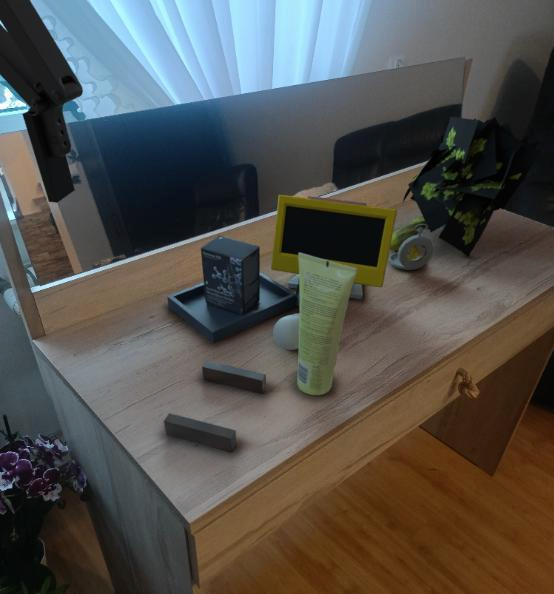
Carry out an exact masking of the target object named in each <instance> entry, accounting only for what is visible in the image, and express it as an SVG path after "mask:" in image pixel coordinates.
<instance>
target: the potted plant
mask: <svg viewBox="0 0 554 594" xmlns="http://www.w3.org/2000/svg"><path fill="white" fill-rule="evenodd" d="M538 144H539V140H537V141H534V142H530V143H529V141H528V136H526V137H524V138H523V139H521V140H520V139H518V138H517V137H515V135H514V133H513V131H512V128H511V125H510V122H506V123H503V124H502V125H500V123H499V121H498V120H497V118H496V116H494V117H492V118H490V119H486V120H485V121H484V122H483V121H482V120H480V119H476V118H474V119H472V118H465V117H456V116H450V117H449V121H448V123H447V127H446V130H445V133H444V134H442V135H440V145H439V147H438V148H437V149H434V150H432V151H429V150H427V153H429V154H430V155H429V159H428V161H427V162H426V163H425V164H424V166H423V167H422V168H421V170H420V171H419V172H418V173H417V175H415V176H414V177H413V178H412V179H413V180H412V181H411V182H409V183H407V185H408V187H407V190H406V192H405V194H404V196H403V199H402V204H403V203H404V202H405V201H406V199H407V197H408V196H409V195H410V193H411V194H412V195H411V196H410V198H409V199H411V200H412V201H414V202H416V205H417V208H418V209H419V211H420V214H421V215H422V216H419V217H415V218H414V219H413V220H411V221H410V222H409V223H407V224H406V225H403V226H402V227H399V228H398V229H397V230H395V231H393V235H392V240H391V245H390V250H389V251H394V252H398V251H399V248H400V246H401V245H402V244H403V242H404V241H405V240H407V239H408V238H410V237H412V236H415V235H418V232H417V231H416V230H418V229H419V228H420V227H421V228H422V229H423V230H424V229H425V228H427V227H426V226H425V225H419V224H427V225H428V228H427V229H426V230H424V231H427V230H429V232H430V233H433V232H435V231H437V230H438V229H440V228H442V227H443V229H442V230H441V232H440V233H439V236H438V237H437V238H439V239H440V240H441V241H443V242H445V243H446V244H448V245H450V246H451V247H452V248H455V249H456V250H457V251H459V252H460V253H462V254H463V255H464V256H466V257H467V258H469V257H470V256H471V253H472V252H473V250H474V248H475V247H476V245H477V244H478V242H479V241H480V239H481V237H482V235H483V233H484V231H485V230H486V228H487V226H488V224H489V222H490V220H491V219H492V215H493V214H494V212H495V211H499V210H501V209H502V210H504V209H505V207H506V205H508V202H509V201H510V200H511V198H512V197H513V196H514V194H515V192H516V191H517V189H518V188H519V187H520V185H521V183H523V182H524V181H525V182H526V180H527V174H528V173H529V171H530V170H531V169H532V167H533V165H534V164H535V163H536V161H537V160H538V158H539V156H540V155H541V154H542V150H540V149H538V148H537V146H538ZM416 225H419V226H417V227H416V230H414V227H415V226H416Z"/></svg>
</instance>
